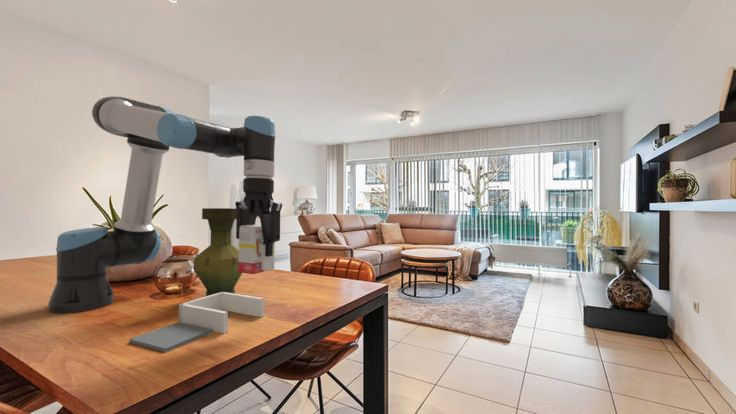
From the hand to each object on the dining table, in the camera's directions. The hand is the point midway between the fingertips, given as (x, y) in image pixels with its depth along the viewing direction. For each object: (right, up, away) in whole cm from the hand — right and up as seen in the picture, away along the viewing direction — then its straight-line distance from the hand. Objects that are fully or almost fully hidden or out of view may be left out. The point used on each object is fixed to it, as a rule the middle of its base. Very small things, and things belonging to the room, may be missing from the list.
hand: (257, 267), depth 86 cm
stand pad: (-17, -15, -8) cm, 24 cm away
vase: (-20, -15, +24) cm, 35 cm away
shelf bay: (-11, -15, +5) cm, 19 cm away
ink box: (0, -1, 0) cm, 1 cm away
